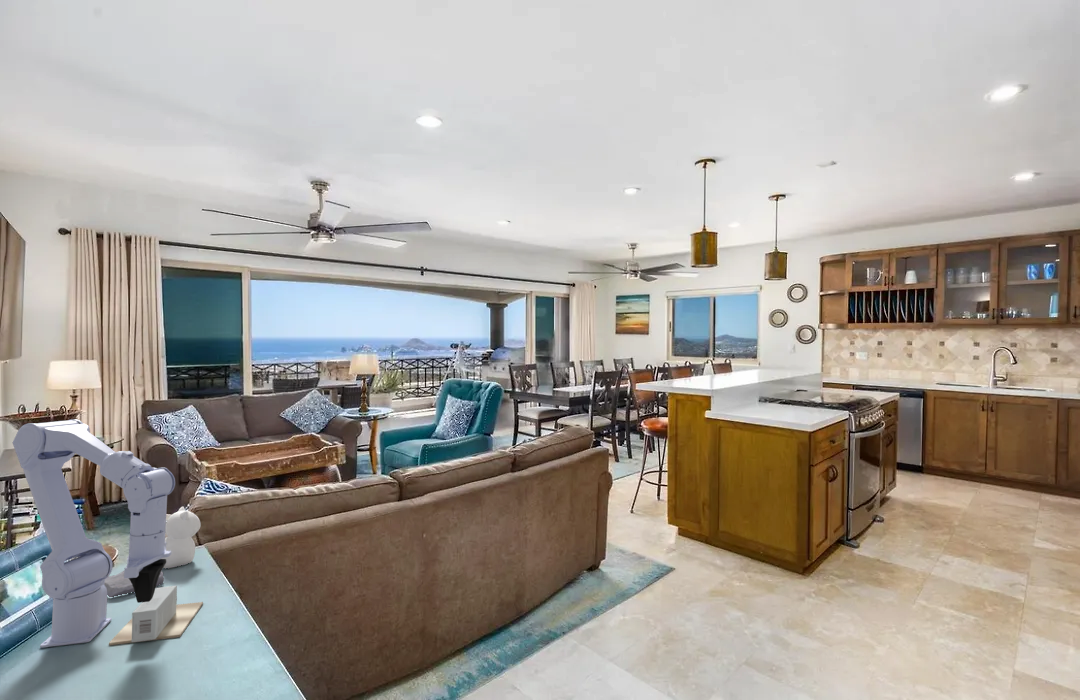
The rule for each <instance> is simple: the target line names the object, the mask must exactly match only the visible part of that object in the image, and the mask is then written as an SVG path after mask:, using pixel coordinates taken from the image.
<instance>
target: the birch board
mask: <svg viewBox="0 0 1080 700" xmlns="http://www.w3.org/2000/svg"><path fill="white" fill-rule="evenodd" d="M203 604H204V602H203V601H199V602H190V603H180V604H178V603H177V606H176V613H175V615H174V616H173V617H172V619H171V620H170V621H169V622H168V624H167V625H166V626H165V628H164V629H163V630H162V632H161V633H160V634H159V635H158V637H157V638H156V639H153V640H146V641H145V642H151V641H157V640H158V641H159V640H165V639H174V638H175V639H176V638H180V637H182V635H183V633H184V632H185V630H186V629H187V627H189V625H190V623H191V622H192V621H193V619H194V617H196V615H197V614H198V612H199V610H200V609H201V608H202V607H203ZM131 640H132V618H131V619H129V621H128V622H127V623H126V624H125V625H124V626H123V627H122V628H121V629H120V630H119V632H117V634H116V635H115V636H114V637H113V638H112V639H111V640H109V642H108V646H114V645H115V646H117V645H124V644H131V643H133V644H134V643H135V642H131ZM140 642H141V643H142V642H143V641H138V642H137V643H140Z"/></svg>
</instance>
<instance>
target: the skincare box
mask: <svg viewBox="0 0 1080 700" xmlns="http://www.w3.org/2000/svg"><path fill="white" fill-rule="evenodd" d="M177 594H178V585H169V586H162V587H156V588H155V592H154V595H153V598H152V599H151V600H150V601H149V602H141V603H140V604H139V605H138V606H137V607H136V609H134V610H133V611H132V612H131V619H132V640H131V642H134V643H139V642H138V641H142V642H147V641H146V640H151V641H154V640H153V639H156V638H157V637H158V635H159V634H160V633H161V632H162V630H163V629H164V628H165V626H166V625H167V624H168V622H169V621H170V620H171V619H172V617H173V616H174V615H175V613H176V606H177V605H178V603H177V602H178V595H177Z"/></svg>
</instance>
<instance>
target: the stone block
mask: <svg viewBox="0 0 1080 700" xmlns="http://www.w3.org/2000/svg"><path fill="white" fill-rule="evenodd" d="M164 581H165V578H164V572H163V570H162V571H161V573H160V575H159V578H158V581H157V584H156V587H158V586H160V585H163V584H164V583H163V582H164ZM159 584H160V585H159ZM157 585H158V586H157ZM104 586H105V587H106V589H107V595H108V596H109V597H114V596H118V595H122V594H127V593H131V592H134V588H133V585H132V583H131V581H130V580H129V578H125V579H124V570H122V571H121V572H120V573H117V574H114V575H109V576H108V577H107V578H106V579H105V584H104Z"/></svg>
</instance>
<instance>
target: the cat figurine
mask: <svg viewBox="0 0 1080 700" xmlns="http://www.w3.org/2000/svg"><path fill="white" fill-rule="evenodd" d="M201 525H202V524H201V520H200V518H199V517H198V516H197V515H196V513H194V512H192V511H190V510H186V509H185V506H181V507H180V508H179V509H178V511H177V512H174V513H171V515H169V517H168V519H166V531H165V542H166V551H172V552H171V555H170V556H169V557H165V558H161V559H166V564H165V565H164V567H163V568H165V569H166V568H168V569H173V568H177V566H178V567H180V566H181V565H182V566H185V565H188V563H189V564H190V563H192V561H194V558H195V554H196V545H195V541H194V539H193V538H192V537H193V536H194V535H196V534H197V533H198V531H200V528H201Z"/></svg>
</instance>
